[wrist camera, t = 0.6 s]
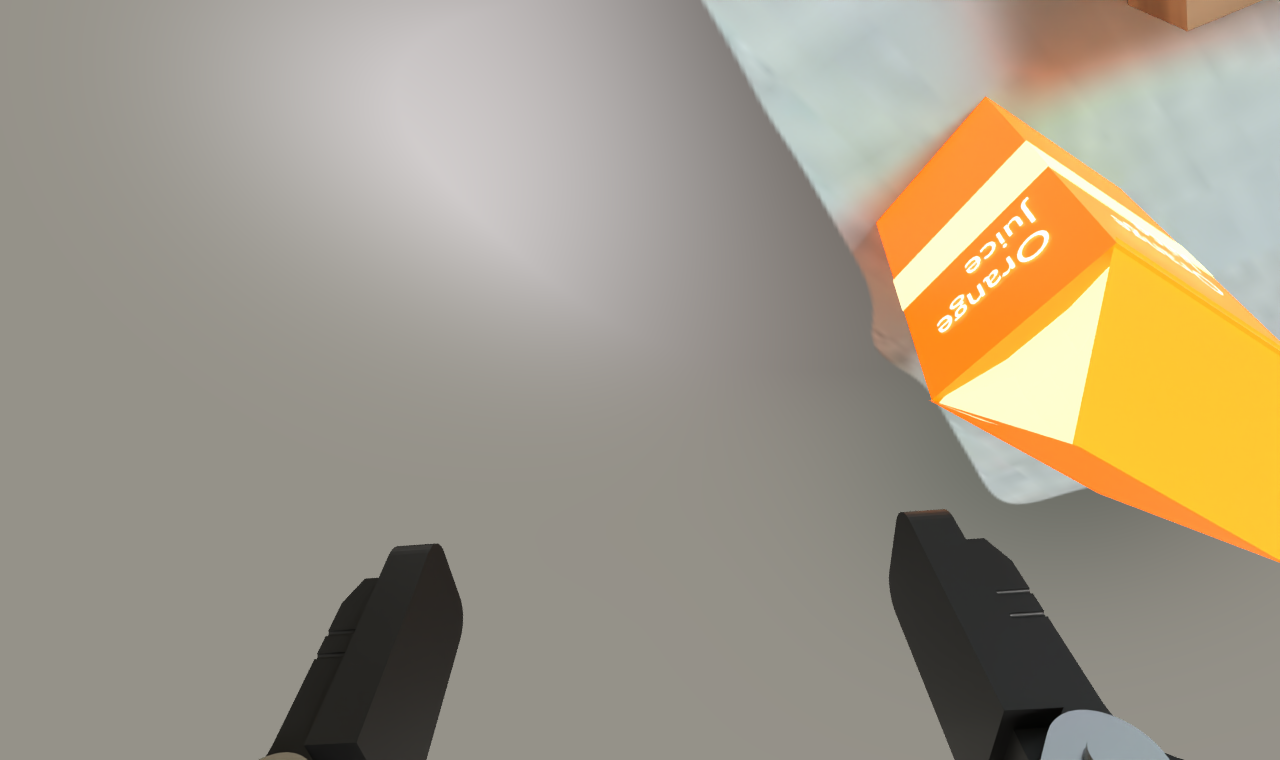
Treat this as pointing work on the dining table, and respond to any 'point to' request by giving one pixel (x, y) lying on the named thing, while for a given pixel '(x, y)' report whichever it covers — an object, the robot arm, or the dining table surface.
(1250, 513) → the orange juice
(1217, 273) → the dining table surface
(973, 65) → the dining table surface
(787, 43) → the dining table surface
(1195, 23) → the tower base
